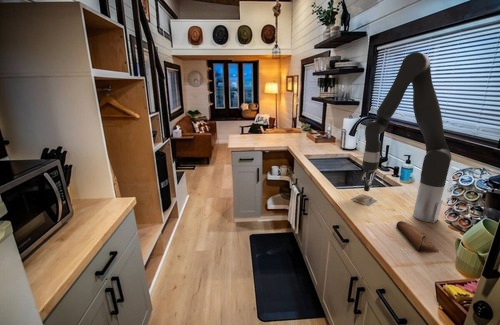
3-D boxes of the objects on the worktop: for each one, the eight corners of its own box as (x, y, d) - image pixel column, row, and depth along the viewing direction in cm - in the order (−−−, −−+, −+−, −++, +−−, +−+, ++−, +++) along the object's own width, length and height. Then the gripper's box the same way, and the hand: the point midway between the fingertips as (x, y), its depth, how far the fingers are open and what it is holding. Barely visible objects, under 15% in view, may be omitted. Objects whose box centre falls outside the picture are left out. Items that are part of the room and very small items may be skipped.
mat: (377, 201, 136) (377, 200, 136) (368, 207, 130) (368, 206, 130) (359, 195, 144) (359, 194, 144) (350, 200, 138) (350, 199, 138)
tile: (372, 197, 136) (365, 201, 131) (372, 200, 137) (364, 204, 132) (362, 193, 141) (354, 198, 136) (361, 196, 141) (354, 200, 136)
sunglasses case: (442, 252, 95) (435, 239, 94) (423, 260, 97) (416, 247, 95) (415, 227, 112) (409, 215, 111) (399, 233, 114) (393, 222, 112)
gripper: (371, 163, 124) (367, 196, 130) (384, 158, 132) (379, 189, 138) (357, 160, 130) (353, 191, 135) (370, 155, 138) (365, 185, 143)
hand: (366, 190), depth 136 cm, fingers closed
